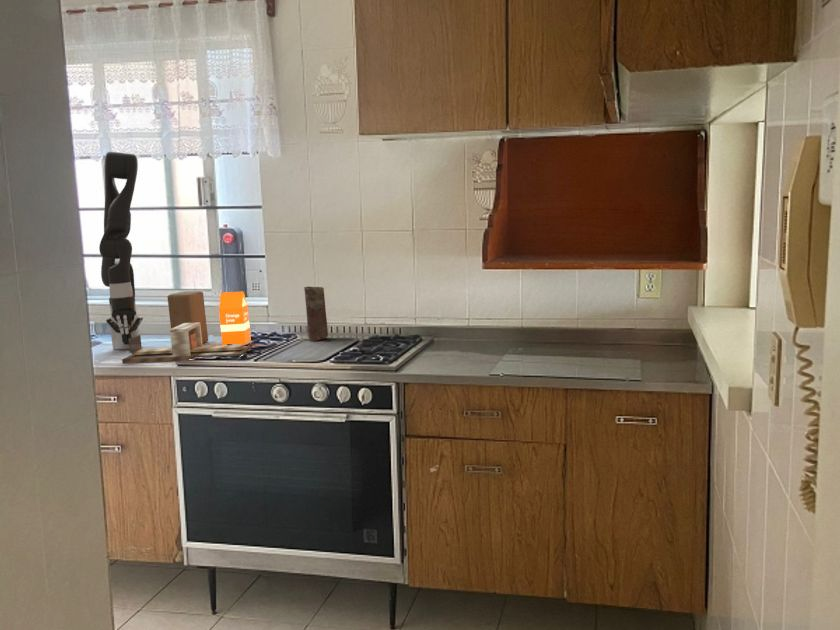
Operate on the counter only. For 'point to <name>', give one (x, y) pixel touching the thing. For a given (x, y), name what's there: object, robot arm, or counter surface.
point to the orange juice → (234, 318)
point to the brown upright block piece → (316, 313)
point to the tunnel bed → (182, 347)
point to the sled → (137, 348)
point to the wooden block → (188, 310)
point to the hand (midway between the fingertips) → (127, 344)
